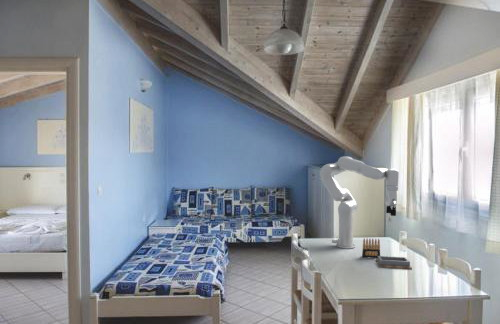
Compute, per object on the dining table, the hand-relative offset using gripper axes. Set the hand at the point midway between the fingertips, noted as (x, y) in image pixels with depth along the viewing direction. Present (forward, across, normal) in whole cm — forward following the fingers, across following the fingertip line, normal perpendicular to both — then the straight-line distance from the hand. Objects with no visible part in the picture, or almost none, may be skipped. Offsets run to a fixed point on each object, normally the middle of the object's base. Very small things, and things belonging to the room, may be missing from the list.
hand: (390, 214), depth 237 cm
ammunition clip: (+26, +10, -14) cm, 31 cm away
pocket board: (+26, +24, -4) cm, 36 cm away
